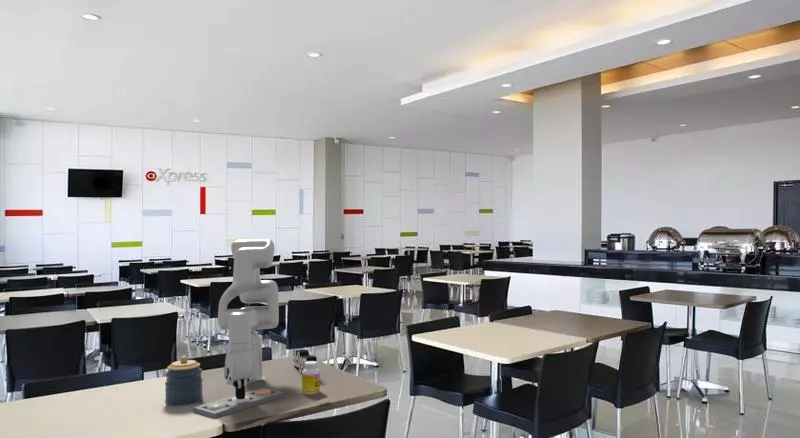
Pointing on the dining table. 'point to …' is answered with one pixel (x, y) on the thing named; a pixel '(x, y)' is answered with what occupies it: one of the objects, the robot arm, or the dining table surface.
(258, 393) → the button terracotta
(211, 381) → the dining table surface
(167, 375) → the canister
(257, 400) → the button panel
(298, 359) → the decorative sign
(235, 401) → the button cream
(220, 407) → the button sage
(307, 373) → the supplement bottle
